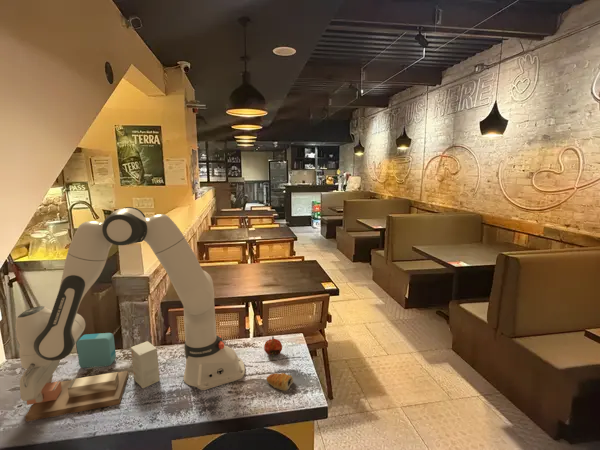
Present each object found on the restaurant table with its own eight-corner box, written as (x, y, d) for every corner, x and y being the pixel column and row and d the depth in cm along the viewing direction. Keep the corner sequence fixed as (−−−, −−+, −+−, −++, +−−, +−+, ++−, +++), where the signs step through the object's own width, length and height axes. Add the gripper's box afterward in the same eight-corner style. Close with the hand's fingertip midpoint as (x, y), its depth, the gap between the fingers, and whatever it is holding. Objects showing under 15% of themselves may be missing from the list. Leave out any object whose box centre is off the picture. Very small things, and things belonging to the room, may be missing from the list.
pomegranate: (282, 363, 137) (285, 339, 144) (278, 356, 132) (281, 332, 139) (265, 363, 139) (268, 340, 145) (260, 356, 133) (263, 332, 140)
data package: (116, 359, 137) (113, 332, 135) (112, 366, 133) (108, 338, 131) (85, 361, 136) (81, 334, 134) (79, 368, 131) (75, 340, 129)
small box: (160, 380, 123) (157, 348, 121) (142, 389, 119) (139, 355, 116) (150, 371, 129) (147, 340, 127) (133, 379, 124) (130, 347, 122)
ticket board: (128, 375, 127) (127, 362, 126) (119, 404, 111) (117, 388, 110) (47, 389, 119) (45, 374, 118) (26, 421, 104) (23, 405, 103)
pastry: (263, 386, 120) (262, 376, 120) (272, 375, 126) (271, 366, 126) (286, 393, 117) (286, 383, 116) (294, 381, 123) (294, 372, 122)
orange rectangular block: (61, 390, 115) (60, 380, 115) (56, 399, 111) (54, 389, 110) (34, 394, 113) (32, 385, 112) (27, 404, 108) (25, 394, 108)
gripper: (35, 373, 100) (42, 414, 103) (61, 339, 120) (66, 374, 122) (9, 377, 99) (17, 418, 101) (40, 342, 118) (46, 378, 120)
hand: (44, 394), depth 112 cm, fingers closed on orange rectangular block, 5 cm apart
